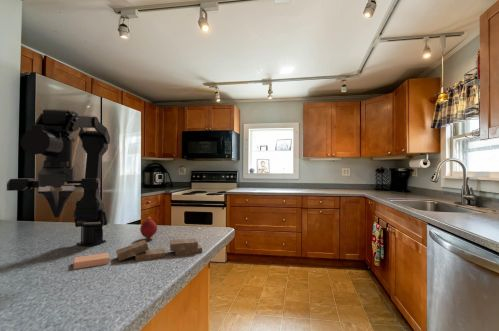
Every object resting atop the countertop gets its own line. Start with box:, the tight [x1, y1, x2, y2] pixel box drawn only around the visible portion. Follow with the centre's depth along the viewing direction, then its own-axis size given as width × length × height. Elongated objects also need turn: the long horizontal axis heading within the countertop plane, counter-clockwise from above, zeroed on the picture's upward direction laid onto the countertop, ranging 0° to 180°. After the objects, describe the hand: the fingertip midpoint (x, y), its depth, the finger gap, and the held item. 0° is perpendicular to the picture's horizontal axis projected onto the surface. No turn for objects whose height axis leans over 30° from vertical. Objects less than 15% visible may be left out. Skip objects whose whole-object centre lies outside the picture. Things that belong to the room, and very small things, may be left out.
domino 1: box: [115, 239, 150, 262], centre depth 74 cm, size 2×5×8 cm
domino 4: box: [173, 243, 203, 256], centre depth 80 cm, size 2×5×8 cm
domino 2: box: [134, 247, 166, 262], centre depth 75 cm, size 2×5×8 cm
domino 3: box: [169, 237, 199, 252], centre depth 80 cm, size 2×5×8 cm
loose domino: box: [73, 252, 110, 270], centre depth 70 cm, size 2×5×8 cm
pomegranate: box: [139, 216, 158, 240], centre depth 95 cm, size 6×6×8 cm
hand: (57, 217), depth 66 cm, fingers closed
